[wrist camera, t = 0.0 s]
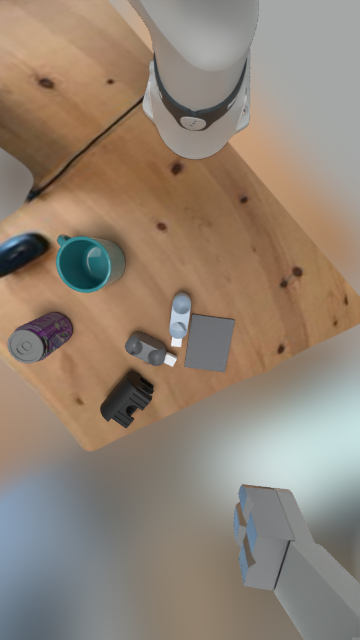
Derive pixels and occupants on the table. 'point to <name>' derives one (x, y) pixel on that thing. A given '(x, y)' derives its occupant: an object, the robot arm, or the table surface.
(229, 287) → the table surface
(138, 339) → the dark gray connector
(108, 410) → the end cap
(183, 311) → the blue connector
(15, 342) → the beverage can
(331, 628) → the robot arm
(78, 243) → the cup
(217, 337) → the pad
